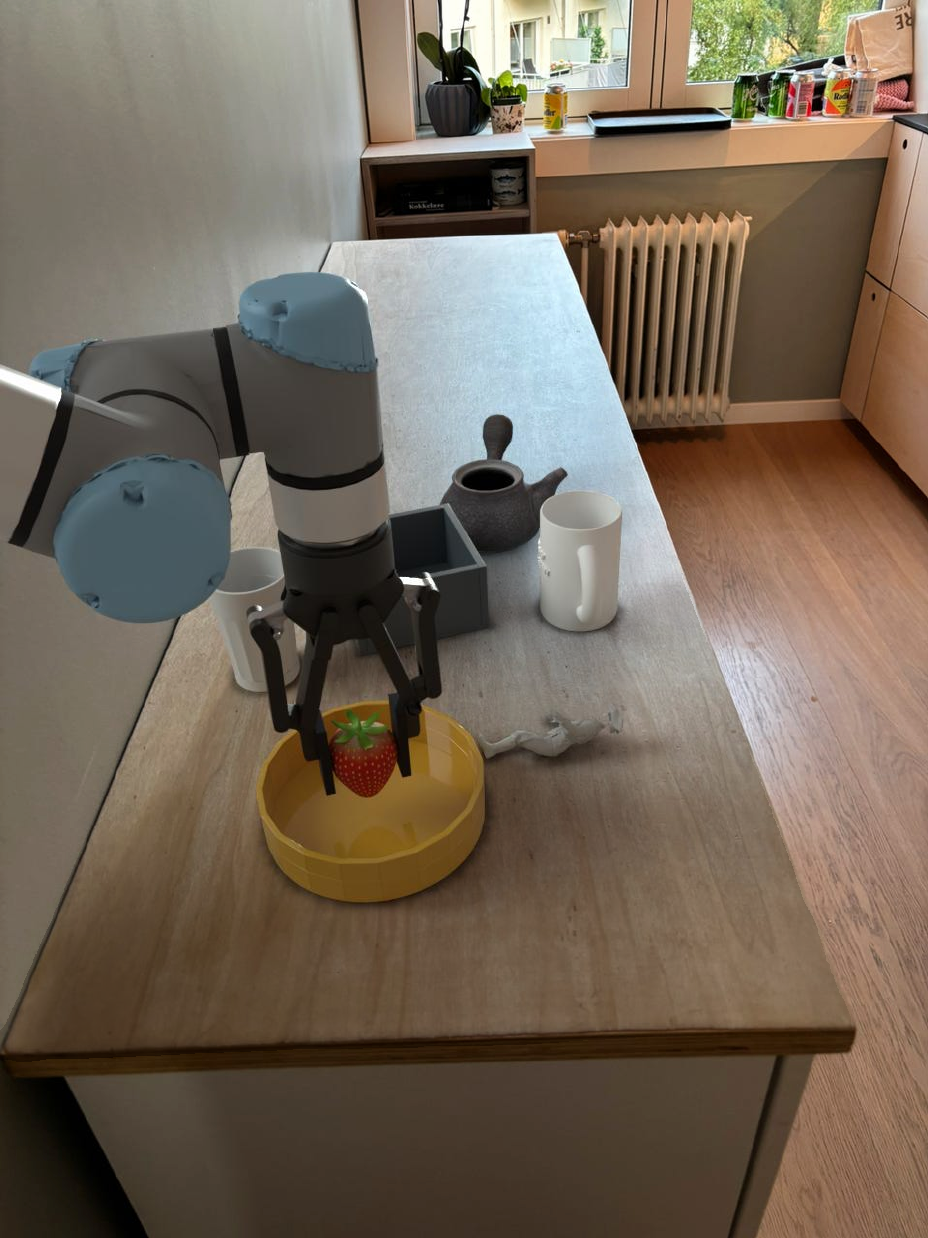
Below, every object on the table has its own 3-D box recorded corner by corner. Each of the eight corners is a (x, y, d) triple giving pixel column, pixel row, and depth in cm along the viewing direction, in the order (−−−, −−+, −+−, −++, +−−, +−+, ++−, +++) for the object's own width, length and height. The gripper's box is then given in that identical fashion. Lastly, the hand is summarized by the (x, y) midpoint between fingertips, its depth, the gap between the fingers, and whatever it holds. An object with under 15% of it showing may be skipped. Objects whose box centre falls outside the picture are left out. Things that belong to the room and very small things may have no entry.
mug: (549, 659, 96) (550, 556, 89) (533, 591, 106) (532, 493, 99) (632, 652, 97) (639, 548, 90) (608, 585, 106) (613, 486, 99)
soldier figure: (481, 736, 89) (601, 681, 89) (503, 786, 89) (624, 730, 88) (474, 736, 82) (605, 675, 81) (498, 790, 81) (631, 729, 81)
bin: (360, 655, 98) (351, 594, 94) (334, 584, 109) (325, 526, 104) (489, 627, 101) (486, 566, 97) (452, 560, 112) (448, 503, 107)
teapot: (574, 554, 112) (576, 475, 106) (439, 563, 111) (433, 485, 105) (553, 477, 127) (553, 404, 121) (434, 485, 127) (429, 412, 121)
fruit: (342, 822, 77) (331, 747, 72) (328, 777, 81) (316, 703, 76) (408, 804, 78) (401, 729, 73) (391, 761, 82) (383, 687, 77)
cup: (322, 675, 96) (304, 573, 89) (247, 708, 92) (222, 604, 85) (286, 637, 101) (267, 537, 94) (214, 666, 98) (188, 565, 91)
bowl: (284, 930, 72) (274, 890, 69) (253, 766, 86) (244, 728, 84) (515, 866, 76) (514, 826, 73) (450, 719, 90) (447, 681, 87)
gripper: (451, 473, 70) (462, 719, 83) (187, 518, 66) (244, 769, 79) (483, 523, 64) (490, 779, 77) (196, 576, 60) (256, 836, 73)
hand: (365, 773), depth 78 cm, fingers closed on fruit, 5 cm apart
